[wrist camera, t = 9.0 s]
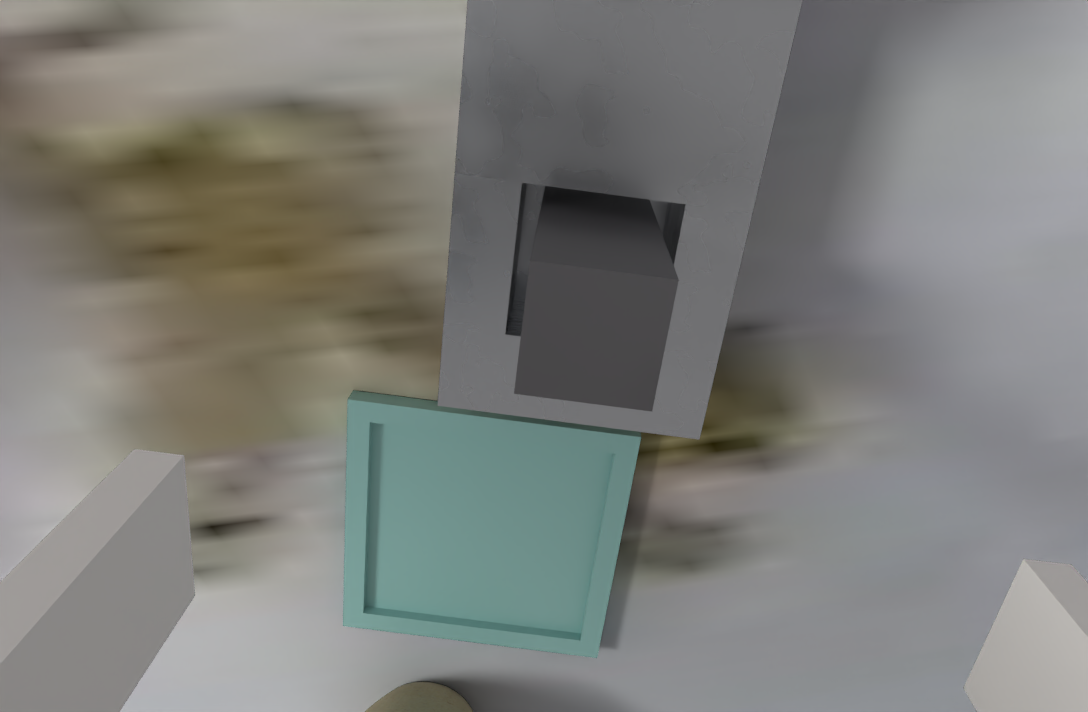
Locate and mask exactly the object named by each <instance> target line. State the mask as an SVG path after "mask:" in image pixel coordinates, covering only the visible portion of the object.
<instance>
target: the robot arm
mask: <svg viewBox="0 0 1088 712" xmlns="http://www.w3.org/2000/svg"><path fill="white" fill-rule="evenodd" d="M194 596H195V587H194V575H193V562H192V549H191V537H190V524H189V511H188V498H187V486H186V473H185V460H184V455H178V454H170V453H162V452H154V451H146V450H137V449H134V450H133V451H132V452H131V453H130V454H129V455H128V456H127V457H126V458H125V459H124V460H123V461H122V462H121V463H120V464H119V465H118V466H117V467H116V468H115V469H114V470H113V471H112V472H111V473H110V474H109V475H108V476H107V477H106V478H105V479H104V480H103V481H102V482H101V483H100V484H99V485H98V486H97V487H95V488H94V489H93V490H92V491H91V492H90V493H89V494H88V495H87V496H86V497H85V498H84V499H83V500H82V501H81V502H80V503H79V504H78V505H77V506H76V507H75V508H74V509H73V510H72V511H71V512H70V513H69V514H68V515H67V516H66V517H65V518H64V519H63V520H62V521H61V522H60V523H59V524H58V525H57V526H56V527H55V528H54V529H53V530H52V531H51V532H50V533H49V534H48V535H47V536H46V537H45V538H44V539H43V540H42V541H41V542H40V543H39V544H38V545H37V546H36V547H35V548H34V549H33V550H32V551H31V552H30V553H29V554H28V555H27V556H26V557H25V558H24V559H23V560H22V561H21V562H20V563H19V564H18V565H17V566H16V567H15V568H14V569H13V570H12V571H11V572H10V573H9V574H8V575H7V576H6V577H5V578H4V579H3V580H2V581H1V582H0V712H120V710H121V709H122V707H123V706H124V704H125V702H126V701H127V699H128V698H129V696H130V695H131V693H132V692H133V690H134V689H135V687H136V686H137V684H138V682H139V681H140V679H141V678H142V676H143V675H144V673H145V672H146V670H147V669H148V667H149V666H150V664H151V662H152V661H153V659H154V658H155V656H156V655H157V653H158V652H159V650H160V649H161V647H162V646H163V644H164V642H165V641H166V639H167V638H168V636H169V635H170V633H171V632H172V630H173V629H174V627H175V626H176V624H177V622H178V621H179V619H180V618H181V616H182V615H183V613H184V612H185V610H186V609H187V607H188V606H189V604H190V602H191V601H192V599H193V598H194ZM963 688H964V690H965V692H966V693H967V695H968V697H969V699H970V700H971V702H972V704H973V706H974V707H975V709H976V711H977V712H1088V583H1087V581H1086V580H1085V579H1084V578H1083V577H1082V576H1081V575H1080V574H1079V573H1078V571H1077V570H1076V569H1075V568H1074V567H1073V566H1072V565H1070V564H1061V563H1053V562H1045V561H1037V560H1029V559H1023V561H1022V563H1021V565H1020V567H1019V569H1018V572H1017V574H1016V576H1015V578H1014V580H1013V582H1012V584H1011V587H1010V589H1009V591H1008V593H1007V595H1006V597H1005V599H1004V602H1003V604H1002V606H1001V608H1000V610H999V612H998V615H997V617H996V619H995V621H994V623H993V625H992V627H991V630H990V632H989V634H988V636H987V638H986V640H985V642H984V645H983V647H982V649H981V651H980V653H979V655H978V657H977V660H976V662H975V664H974V666H973V668H972V670H971V672H970V675H969V677H968V679H967V681H966V683H965V685H964V687H963Z"/></svg>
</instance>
